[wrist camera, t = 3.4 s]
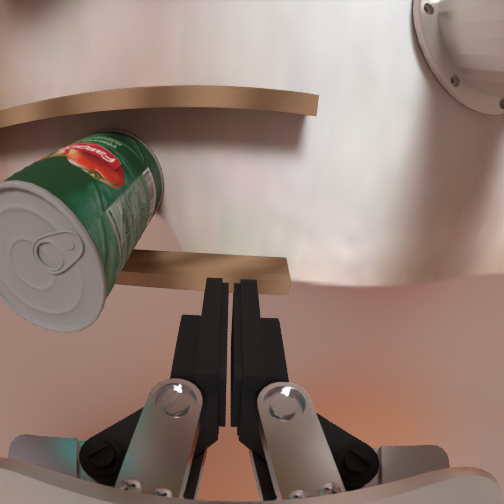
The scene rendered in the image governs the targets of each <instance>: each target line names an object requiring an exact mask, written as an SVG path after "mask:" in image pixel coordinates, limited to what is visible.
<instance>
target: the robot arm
mask: <svg viewBox="0 0 504 504" xmlns="http://www.w3.org/2000/svg"><path fill="white" fill-rule="evenodd" d="M413 16H414V26H415V29H416V33H417V38H418V41H419V44H420V46H421V49H422V52H423V54H424V57H425V59H426V61H427V62H428V64H429V66H430V68H431V70H432V72H433V73H434V75H435V76H436V78H437V79H438V81H439V82H440V83H441V85H442V86H443V87H444V88H445V89H446V90H447V91H448V93H449V94H450V95H451V96H452V97H454V98H455V99H456V100H457V101H459V102H460V103H461V104H463V105H464V106H466V107H468V108H470V109H472V110H475V111H478V112H481V113H485V114H491V115H496V114H503V113H504V0H414V3H413ZM228 295H229V283H225V282H223V278H209V277H207V279H206V286H205V293H204V302H203V308H202V316H199V315H182V317H181V322H180V327H179V332H178V337H177V343H176V349H175V354H174V359H173V365H172V371H171V377H170V379H167V380H164V381H162V382H159V383H158V384H157V385H156V386H154V387H153V388H152V390H151V392H150V393H149V396H148V398H147V401H146V403H145V406H144V407H143V408H141V409H140V410H138V411H136V412H135V413H133V414H131V415H129V416H128V417H126V418H124V419H123V420H121V421H119V422H117V423H116V424H114V425H112V426H110V427H109V428H107V429H105V430H104V431H102V432H100V433H98V434H96V435H95V436H93V437H91V438H89V439H88V440H87V441H78V439H77V438H63V437H48V436H36V435H19V436H18V437H16V438H15V439H14V440H13V441H12V442H11V445H10V448H9V456H8V458H3V457H0V504H504V493H503V491H502V489H501V487H500V485H499V483H498V482H497V480H496V479H495V477H494V476H492V474H490V473H489V472H487V471H485V470H482V469H478V468H474V467H452V468H450V466H449V459H448V456H447V454H446V452H445V451H444V450H443V449H442V448H440V447H439V446H434V445H422V446H381V447H380V448H371V447H370V446H369V445H367V444H366V443H364V442H362V441H361V440H359V439H357V438H356V437H354V436H352V435H350V434H349V433H347V432H346V431H344V430H343V429H341V428H339V427H338V426H336V425H335V424H333V423H331V422H329V421H328V420H327V419H325V418H324V417H322V416H320V415H319V414H317V413H316V412H315V409H314V406H313V404H312V401H311V399H310V397H309V395H308V394H307V392H306V391H305V390H304V389H302V388H301V387H300V386H298V385H295V384H293V383H289V380H288V374H287V367H286V360H285V354H284V348H283V341H282V335H281V329H280V323H279V319H278V318H260V308H259V299H258V287H257V280H256V279H240V283H234V292H233V313H232V334H231V427H237V435H239V441H240V442H241V443H243V444H244V445H245V446H246V447H248V448H249V454H250V458H251V463H252V467H253V471H254V476H255V479H256V484H257V488H258V492H259V496H260V500H261V501H254V502H253V501H251V502H231V501H228V502H227V501H205V500H196V499H197V494H198V490H199V485H200V481H201V476H202V471H203V467H204V462H205V458H206V453H207V448H208V447H209V446H211V445H212V444H213V443H214V442H216V441H217V440H218V433H219V431H218V430H219V426H222V427H223V426H224V427H225V415H226V413H225V412H226V375H227V372H226V371H227V329H228Z"/></svg>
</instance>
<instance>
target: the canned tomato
mask: <svg viewBox="0 0 504 504" xmlns="http://www.w3.org/2000/svg"><path fill="white" fill-rule="evenodd" d="M163 189H164V187H163V175H162V170H161V167H160V164H159V162H158V159H157V157H156V156H155V154H154V153H153V151H152V150H151V148H150V147H149V146H148V145H147V144H146V143H145V142H144V141H142V140H141V139H139V138H138V137H136V136H135V135H133V134H131V133H128V132H126V131H121V130H115V129H111V130H102V131H99V132H95V133H93V134H91V135H89V136H88V137H85V138H83V139H81V140H78V141H76V142H74V143H72V144H70V145H68V146H66V147H64V148H62V149H60V150H57V151H56V152H54V153H52V154H50V155H48V156H47V157H44V158H42V159H40V160H39V161H37V162H34V163H33V164H31V165H30V166H28V167H25V168H24V169H23V170H21V171H19V172H17V173H15V174H14V175H12V176H11V177H9V178H8V179H6V180H5V181H3V182H2V183H0V299H1V300H2V301H3V302H4V303H5V304H6V305H7V306H8V307H9V308H10V309H11V310H12V311H13V312H15V313H16V314H17V315H19V316H20V317H22V318H23V319H24V320H26V321H28V322H30V323H32V324H34V325H35V326H38V327H40V328H43V329H45V330H49V331H53V332H58V333H72V332H77V331H81V330H83V329H85V328H87V327H89V326H90V325H92V323H94V322H95V321H96V320H97V319H98V317H99V315H100V313H101V311H102V310H103V307H104V302H105V300H106V298H107V296H108V295H109V293H110V292H111V290H112V288H113V286H114V284H115V282H116V280H117V278H118V277H119V275H120V273H121V271H122V269H123V267H124V266H125V263H126V262H127V260H128V258H129V256H130V254H131V253H132V251H133V249H134V247H135V246H136V244H137V242H138V240H139V239H140V237H141V235H142V234H143V232H144V230H145V228H146V227H147V225H148V223H149V222H150V220H151V218H152V217H153V216H154V214H155V213H156V211H157V210H158V207H159V205H160V202H161V200H162V195H163Z"/></svg>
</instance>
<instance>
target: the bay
mask: <svg viewBox="0 0 504 504" xmlns="http://www.w3.org/2000/svg"><path fill="white" fill-rule="evenodd" d="M318 98H319V95H314V94H308V93H301V92H293V91H285V90H275V89H264V88H251V87H235V86H199V85H190V86H154V87H138V88H125V89H115V90H106V91H97V92H90V93H83V94H76V95H70V96H64V97H59V98H53V99H48V100H43V101H39V102H34V103H30V104H25V105H21V106H17V107H13V108H10V109H6V110H2V111H0V128H2V127H6V126H11V125H15V124H20V123H25V122H30V121H35V120H40V119H46V118H52V117H58V116H65V115H72V114H80V113H88V112H97V111H108V110H120V109H134V108H156V107H217V108H239V109H255V110H267V111H278V112H288V113H296V114H304V115H312V116H316V115H317V107H318ZM207 277H209V278H223V282H225V283H229V292H234V283H240V279H256V280H257V287H258V294H278V295H288V294H289V289H290V284H291V279H290V274H289V269H288V265H287V260H286V258H279V257H260V256H242V255H223V254H205V253H187V252H170V251H151V250H134V249H133V251H132V253H131V254H130V256H129V258H128V260H127V262H126V263H125V266H124V267H123V269H122V271H121V273H120V275H119V277H118V278H117V280H116V282H115V284H121V285H133V286H145V287H158V288H171V289H185V290H199V291H205V286H206V279H207Z"/></svg>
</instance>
